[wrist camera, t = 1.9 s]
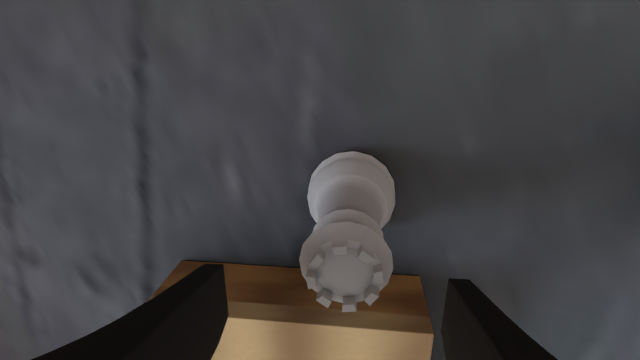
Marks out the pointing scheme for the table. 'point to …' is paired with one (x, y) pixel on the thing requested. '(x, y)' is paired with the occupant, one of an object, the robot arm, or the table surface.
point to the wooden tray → (315, 318)
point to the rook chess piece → (348, 230)
